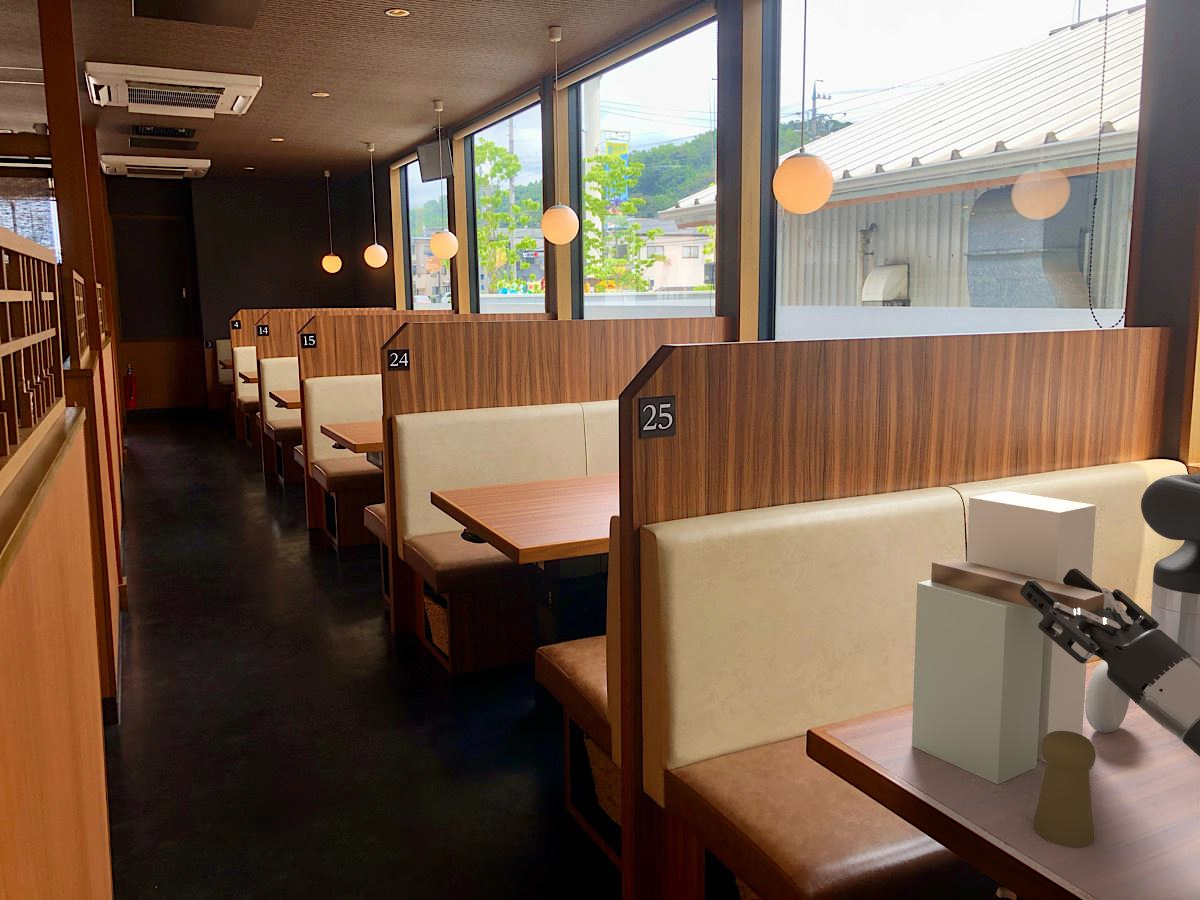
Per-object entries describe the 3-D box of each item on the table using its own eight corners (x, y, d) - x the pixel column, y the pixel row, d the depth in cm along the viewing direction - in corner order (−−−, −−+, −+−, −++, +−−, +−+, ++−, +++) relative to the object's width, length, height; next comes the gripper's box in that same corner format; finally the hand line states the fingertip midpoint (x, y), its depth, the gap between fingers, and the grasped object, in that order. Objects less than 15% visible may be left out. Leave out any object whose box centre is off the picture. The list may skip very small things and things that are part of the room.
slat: (931, 581, 119) (931, 562, 119) (950, 576, 121) (951, 557, 121) (1083, 621, 103) (1084, 599, 102) (1103, 615, 105) (1104, 593, 105)
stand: (1081, 746, 121) (1096, 505, 117) (997, 784, 111) (1010, 523, 107) (995, 713, 131) (1005, 490, 127) (911, 745, 122) (919, 506, 117)
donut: (1107, 747, 121) (1111, 673, 119) (1079, 738, 123) (1083, 666, 122) (1132, 723, 127) (1137, 653, 126) (1105, 716, 130) (1109, 647, 129)
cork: (1108, 840, 99) (1114, 743, 98) (1064, 852, 97) (1070, 752, 96) (1062, 813, 105) (1068, 720, 103) (1020, 823, 103) (1025, 729, 101)
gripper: (1223, 646, 99) (1098, 546, 110) (1154, 674, 92) (1026, 564, 102) (1182, 692, 103) (1064, 592, 114) (1112, 723, 96) (993, 613, 106)
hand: (1046, 579), depth 108 cm, fingers open, 8 cm apart
